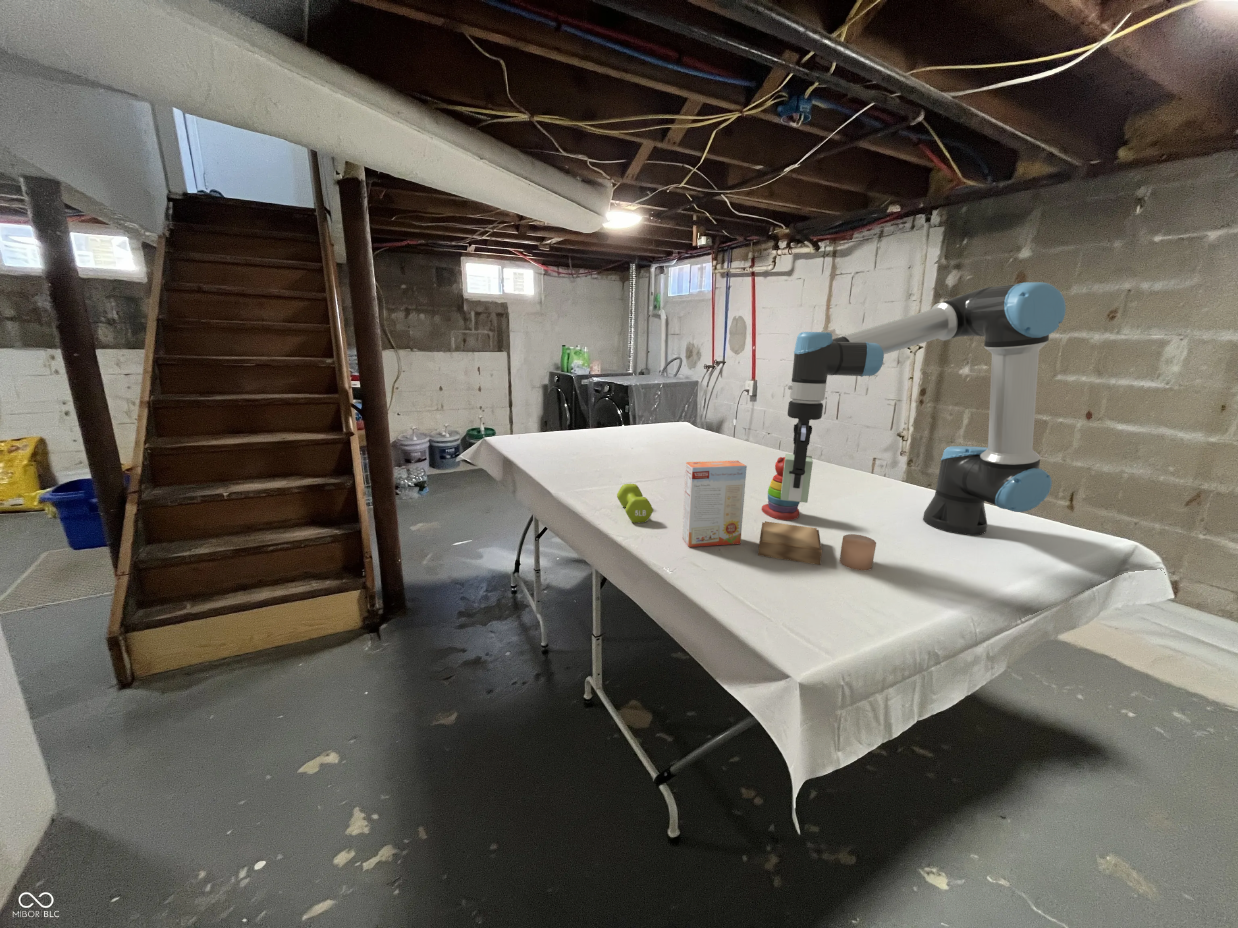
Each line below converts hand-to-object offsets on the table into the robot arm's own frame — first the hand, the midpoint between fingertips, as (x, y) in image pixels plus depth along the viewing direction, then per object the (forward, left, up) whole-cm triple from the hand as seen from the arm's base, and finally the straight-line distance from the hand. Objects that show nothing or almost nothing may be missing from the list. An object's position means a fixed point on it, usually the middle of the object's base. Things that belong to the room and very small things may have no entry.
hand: (794, 495), depth 118 cm
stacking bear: (+2, -25, -14) cm, 29 cm away
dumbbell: (+43, -9, -14) cm, 46 cm away
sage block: (0, 0, 0) cm, 0 cm away
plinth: (0, 0, -14) cm, 14 cm away
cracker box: (+19, +3, -14) cm, 24 cm away
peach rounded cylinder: (-15, +3, -14) cm, 21 cm away
